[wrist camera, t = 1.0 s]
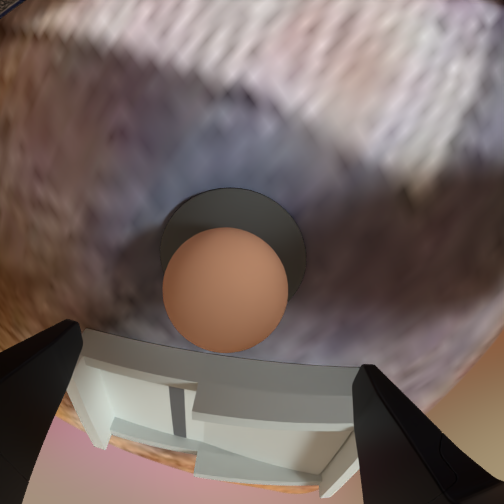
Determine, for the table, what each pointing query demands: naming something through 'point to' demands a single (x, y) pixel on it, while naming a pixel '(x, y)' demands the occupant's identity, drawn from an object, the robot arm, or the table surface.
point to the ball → (225, 290)
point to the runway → (220, 411)
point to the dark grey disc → (239, 226)
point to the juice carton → (8, 6)
